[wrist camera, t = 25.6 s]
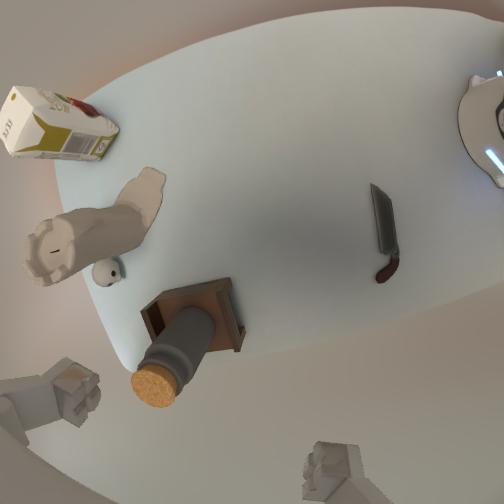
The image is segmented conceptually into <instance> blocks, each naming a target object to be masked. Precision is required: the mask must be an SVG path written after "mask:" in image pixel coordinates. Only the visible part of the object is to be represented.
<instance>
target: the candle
mask: <svg viewBox="0 0 504 504" xmlns="http://www.w3.org/2000/svg"><path fill="white" fill-rule="evenodd" d="M165 180H166V178H165V175H164V174H161V173H160V172H158V171H157V170H156V169H154V168H151V167H146V168H144V169H143V170H142V172H141V173H140V174H139V176H138V177H137V178H134V179H132V180H131V181H130V182H128V183H127V185H126V186H125V187H124V188H123V189H122V191H121V193H120V195H119V197H118V198H117V200H116V202H115V204H114V205H113V206H111V207H107V208H102V209H96V208H80V209H75V210H72V211H70V212H69V213H64V214H61V215H58V216H56V217H54V218H53V219H48V220H44V221H42V222H41V223H40V224H39V225H38V227H37V229H36V230H35V231H34V232H33V233H32V234H30V235H29V236H28V237H27V238H26V241H25V253H26V262H25V263H24V265H23V268H24V270H25V272H26V274H27V275H28V277H29V278H30V279H31V280H32V282H34V283H35V284H37V285H39V286H50V285H53V284H55V283H58V282H60V281H63V280H65V279H67V278H68V277H70V276H72V275H73V274H75V273H77V272H79V271H80V270H82V269H83V268H85V267H87V266H89V265H90V264H92V263H94V262H97V261H100V260H103V259H107V258H110V257H114V256H117V255H120V254H123V253H125V252H128V251H130V250H132V249H134V248H136V247H138V246H139V245H140V244H141V242H142V241H143V239H144V237H145V234H146V232H147V231H148V229H149V227H150V226H151V224H152V222H153V220H154V219H155V217H156V215H157V212H158V210H159V207H160V205H161V203H162V192H161V188H162V187H163V185H164V183H165Z"/></svg>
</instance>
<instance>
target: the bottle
mask: <svg viewBox="0 0 504 504" xmlns="http://www.w3.org/2000/svg"><path fill="white" fill-rule="evenodd" d="M214 334H215V323H214V321H213V319H212V317H211V316H210V315H209V314H208V313H207V312H206V311H204V310H203V309H201V308H197V307H187V308H184V309H183V310H181V311H180V312H179V313H178V314H177V315H176V316H175V317H174V318H173V320H172V321H171V322H170V323H169V324H168V325H167V326H166V328H165V329H164V330H163V331H162V332H161V333H160V335H159V336H158V337H157V338H156V339H155V340H154V342H153V343H152V344H151V345H150V346H149V348H148V349H147V351H146V353H145V356H144V359H143V360H142V361H141V362H140V364H139V365H138V368H137V371H136V372H135V373H134V374H133V376H132V378H131V385H132V388H133V390H134V392H135V393H136V395H137V396H138V397H139V398H140V399H141V400H142V401H144V402H145V403H147V404H149V405H151V406H154V407H160V408H162V407H168V406H170V405H171V404H172V403H173V402H174V399H175V397H176V396H178V395H179V394H180V393H181V391H182V389H183V387H184V385H186V384H188V383H189V382H190V380H191V379H192V377H193V376H194V374H195V372H196V370H197V368H198V366H199V364H200V362H201V360H202V358H203V357H204V355H205V353H206V351H207V349H208V347H209V345H210V343H211V341H212V339H213V336H214Z"/></svg>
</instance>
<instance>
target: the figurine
mask: <svg viewBox="0 0 504 504" xmlns="http://www.w3.org/2000/svg"><path fill="white" fill-rule="evenodd" d="M119 271H120V269H119V265H118V263H117V262H116V261H115V260H114V259H113V258H111V257H110V258H107V259H103V260H100V261H97V262H95V263H94V265H93V268H92V276H93V280H94V281H95V283H96V284H97V285H99V286H102V287H109V286H111V285H112V284H114V283H115V282H116V281H117V282H119V281H121V275H120V274H119Z"/></svg>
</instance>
